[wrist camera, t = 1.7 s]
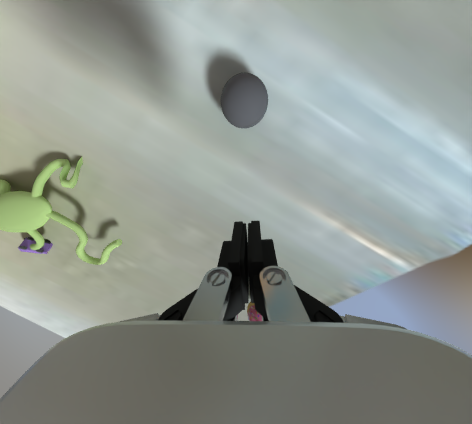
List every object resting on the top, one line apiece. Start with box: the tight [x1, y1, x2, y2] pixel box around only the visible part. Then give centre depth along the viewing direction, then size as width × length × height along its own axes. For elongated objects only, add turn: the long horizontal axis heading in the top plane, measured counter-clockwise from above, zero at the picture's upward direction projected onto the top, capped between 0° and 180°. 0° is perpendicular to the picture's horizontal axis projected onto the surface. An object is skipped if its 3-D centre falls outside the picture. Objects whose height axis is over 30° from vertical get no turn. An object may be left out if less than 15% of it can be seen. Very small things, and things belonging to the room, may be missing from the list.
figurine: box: [0, 157, 122, 265], centre depth 31 cm, size 18×27×6 cm
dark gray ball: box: [221, 73, 268, 128], centre depth 21 cm, size 6×6×6 cm
